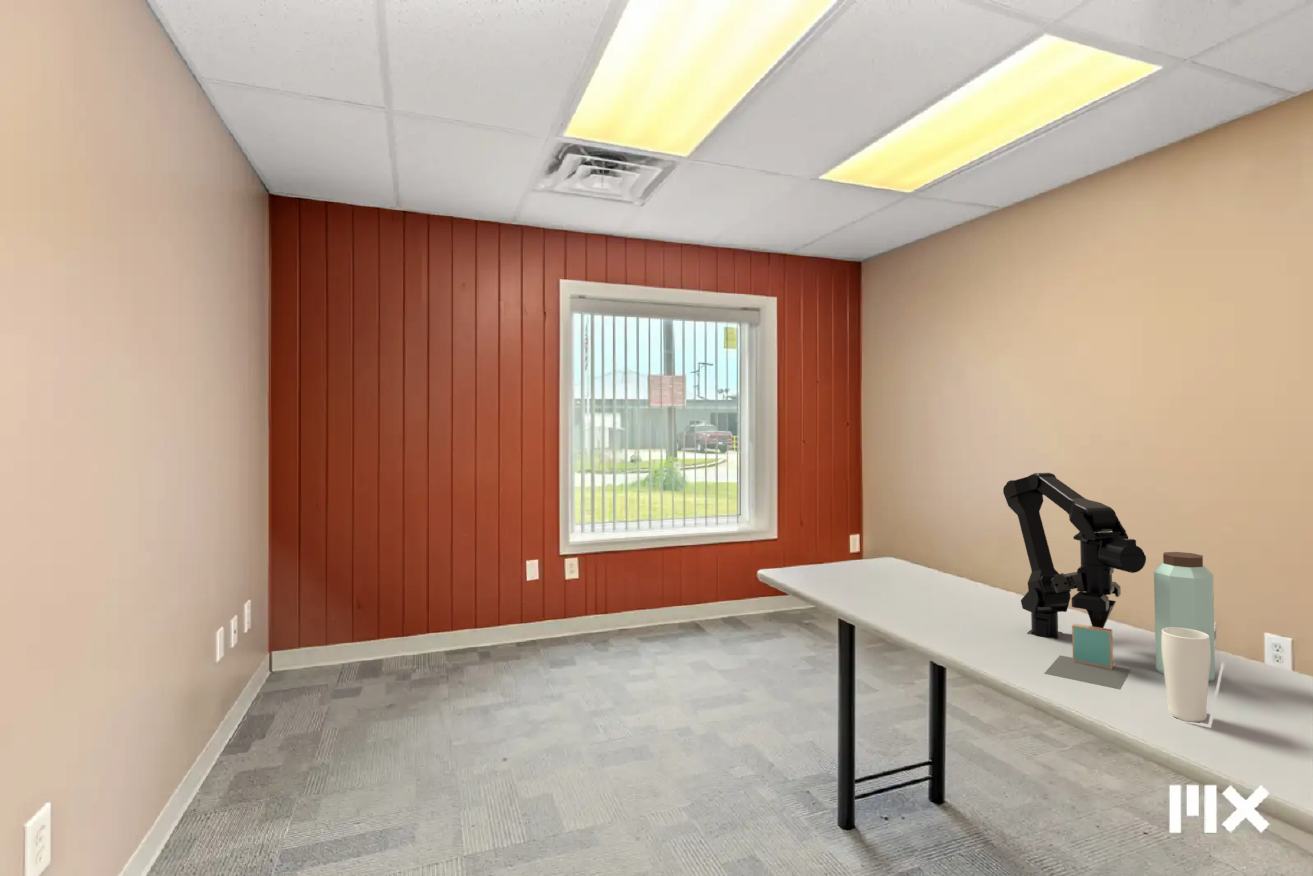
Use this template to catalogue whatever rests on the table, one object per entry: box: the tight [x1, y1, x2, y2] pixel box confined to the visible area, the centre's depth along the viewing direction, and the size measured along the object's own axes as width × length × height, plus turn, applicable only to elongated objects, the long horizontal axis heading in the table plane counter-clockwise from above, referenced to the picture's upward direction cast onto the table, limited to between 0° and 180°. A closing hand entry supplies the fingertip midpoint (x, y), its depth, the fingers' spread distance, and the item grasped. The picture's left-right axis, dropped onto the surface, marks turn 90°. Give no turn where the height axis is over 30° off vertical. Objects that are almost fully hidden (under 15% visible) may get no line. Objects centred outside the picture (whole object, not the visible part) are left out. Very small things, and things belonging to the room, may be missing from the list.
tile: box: [1071, 623, 1114, 669], centre depth 139 cm, size 2×7×8 cm, turn 46°
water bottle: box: [1153, 551, 1216, 682], centre depth 133 cm, size 10×10×25 cm
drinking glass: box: [1161, 627, 1211, 723], centre depth 115 cm, size 7×7×15 cm
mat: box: [1043, 654, 1132, 690], centre depth 136 cm, size 14×13×1 cm
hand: (1097, 633), depth 143 cm, fingers closed
